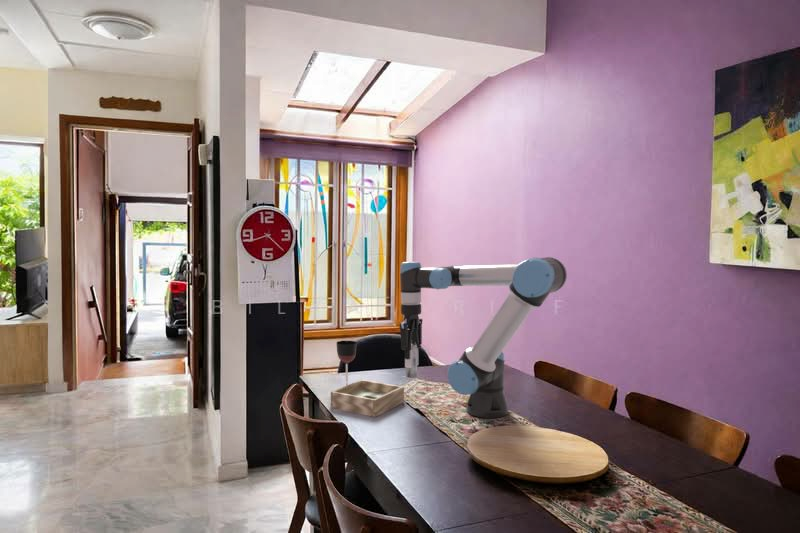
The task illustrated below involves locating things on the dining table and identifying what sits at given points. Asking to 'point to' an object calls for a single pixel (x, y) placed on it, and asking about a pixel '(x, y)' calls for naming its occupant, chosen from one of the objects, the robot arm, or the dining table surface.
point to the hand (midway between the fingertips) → (411, 366)
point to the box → (367, 397)
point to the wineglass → (346, 353)
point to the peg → (413, 363)
